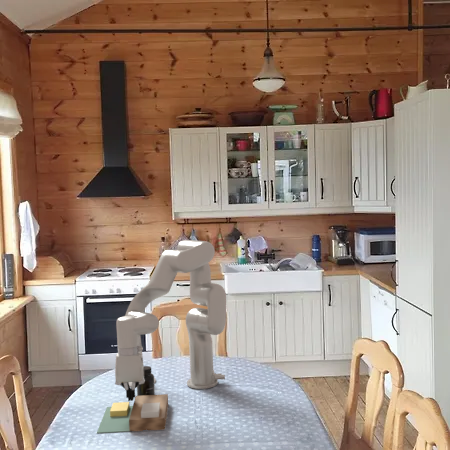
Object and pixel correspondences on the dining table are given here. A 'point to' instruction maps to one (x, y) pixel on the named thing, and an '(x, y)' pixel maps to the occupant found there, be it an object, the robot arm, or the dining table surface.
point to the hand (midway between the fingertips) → (130, 399)
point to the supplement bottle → (147, 383)
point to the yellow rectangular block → (119, 409)
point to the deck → (148, 423)
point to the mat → (114, 422)
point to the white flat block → (150, 410)
